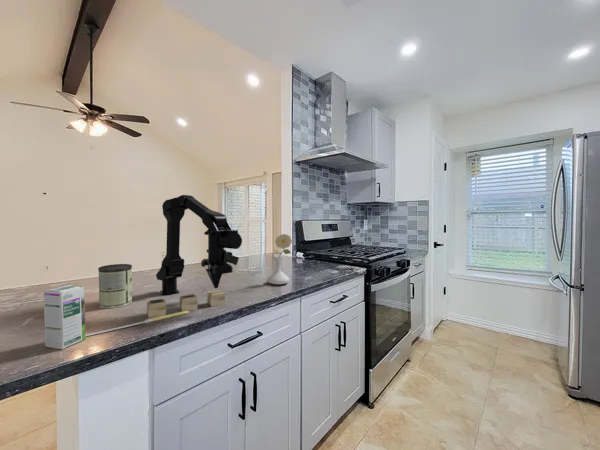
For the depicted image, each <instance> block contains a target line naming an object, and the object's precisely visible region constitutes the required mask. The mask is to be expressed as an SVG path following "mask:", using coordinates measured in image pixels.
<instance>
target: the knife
mask: <svg viewBox="0 0 600 450" xmlns="http://www.w3.org/2000/svg"><path fill="white" fill-rule="evenodd" d="M189 313H190V311H178V312H174V313H170V314H166V315H164V316H159V317H154V318H148V319H144V321H139V322H136V323H135V322H134V323H131V324H127V325H123V326H118V327H114V328H113V327H112V328H109V329H106V330H101V331H97V332H93V333H90V334H85V338H86V337H89V336H94V335H99V334H102V333H103V334H104V333H107V332H111V331H115V330H121V329H124V328H129V327H133V326H137V325H143V324H148V323H149V324H150V323H152V322H159V321H162V320H166V319H171V318H176V317H178V316H179V317H180V316H184V315H188V314H189Z"/></svg>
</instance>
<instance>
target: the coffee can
mask: <svg viewBox="0 0 600 450" xmlns="http://www.w3.org/2000/svg"><path fill="white" fill-rule="evenodd" d="M132 269H133V265H132V264H130V263H129V264H127V263H117V264H116V263H115V264H108V265H101V266H100V267H99V266H98V269H97V270H98V296H99V297H98V301H99V305H98V307H99V308H100V307H101V309H115V308H121V307H125V306H127V305H130V304H132V302H133V287H132V286H133V277H132V276H133V273H132Z"/></svg>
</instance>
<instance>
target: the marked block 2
mask: <svg viewBox="0 0 600 450" xmlns="http://www.w3.org/2000/svg"><path fill="white" fill-rule="evenodd" d="M178 299H179V300H178V301H179V303H178V305H179V307H178V308H179V310H180V312H182V311H189V312H191V311H197V310H198V296H197V295H196V294H195V293H191V294H185V295H184V294H183V295H179V298H178Z"/></svg>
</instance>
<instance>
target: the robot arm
mask: <svg viewBox="0 0 600 450" xmlns="http://www.w3.org/2000/svg"><path fill="white" fill-rule="evenodd" d="M161 207H162V214H163V217H164V218H165V220H166V252H165V253H166V254H165V256H164V258H162V259H163V260H162V261H161V266H160V269H159V270H158V272H157V273H156V274H155V276H156V280H158V281H161V290H160V291H159V292H160V294H161V295H162V296H167V295H174V294H179V293H180V291H179V290H178V282H177V281H178V278H182V276H183V272H184V269H185V259H184V258H182V256H180V243H181V242H180V237H181V221H182V219H183V218H184V216H185V214H186V210H189V211H191V212H192V213H194V214H195V215H197V216H198V217H199V218H200V220H201V222H202V224H203V225H204V226H205V228H207V230H206V231H205V232H204V233H203V234H204V235H205V236H207V237H208V239H207V247H208V248H207V249H206V253H207V258H203V259H202V260H201V262H200V263H201V264H200V266H201V267H202V268H205V267H206V266H207V268H206V269H205V271H206V273H207V276H208V277H209V280H210V282H211V285H212V286H213V288H214V289H219V288H218V287H219V286H220V282H221V278H222V275H223V274H233V270H234V269H233V266H232V265H234V266H237V265H238V262H239V259H240V257H239V256H237V255H233V252H231V251H227V250H226V249H229V250H230V249H232V250H238V249H240V248H241V247H242V244H243V239H242V236H241V234H240V233H239V230H238V229H233V228H232V226H231V225H230V223H229V221H228V219H227V217H228V216H226V215H225V214H224V213H221V212H219V211H215V210H212V209H210V208H208V207H207V206H206V205H205V204H203V203H202V202H201V201H198V200H197V199H196V198H195V197H194V196H193V195H192V194H191V195H188V194H182V195H179V196H177V197H173V198H169V199H166V200H164V202H163V203H162V205H161ZM231 264H232V265H231Z"/></svg>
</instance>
